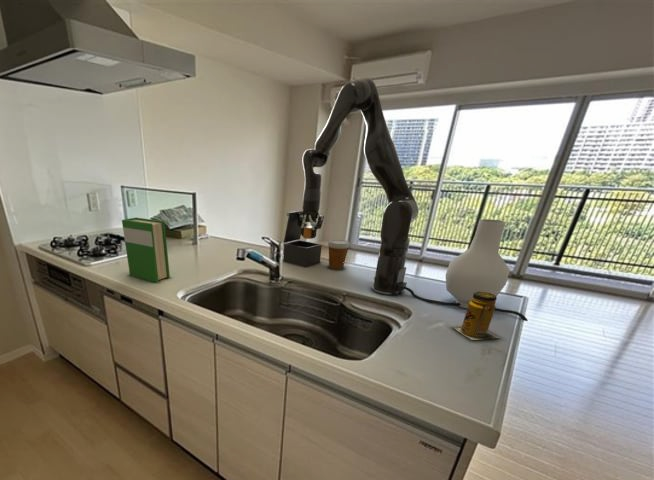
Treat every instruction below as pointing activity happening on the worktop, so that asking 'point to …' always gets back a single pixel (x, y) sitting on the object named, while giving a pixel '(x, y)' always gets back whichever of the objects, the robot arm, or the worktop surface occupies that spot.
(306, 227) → the coffee pod
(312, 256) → the dark grey lidded box
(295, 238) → the lid
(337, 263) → the disposable coffee cup
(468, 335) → the condiment
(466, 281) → the vase
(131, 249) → the hardback book
